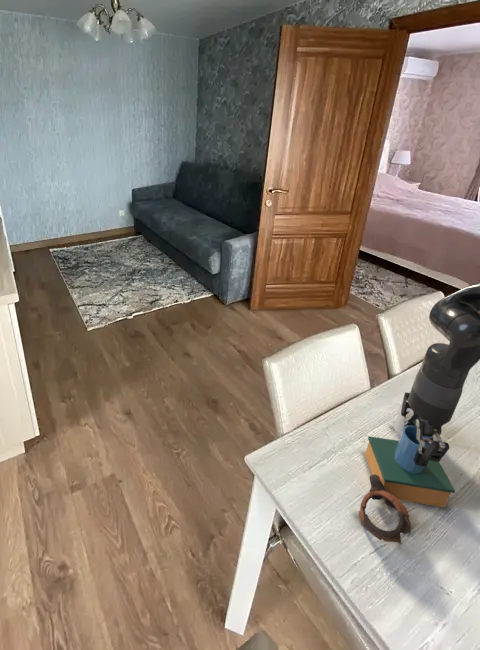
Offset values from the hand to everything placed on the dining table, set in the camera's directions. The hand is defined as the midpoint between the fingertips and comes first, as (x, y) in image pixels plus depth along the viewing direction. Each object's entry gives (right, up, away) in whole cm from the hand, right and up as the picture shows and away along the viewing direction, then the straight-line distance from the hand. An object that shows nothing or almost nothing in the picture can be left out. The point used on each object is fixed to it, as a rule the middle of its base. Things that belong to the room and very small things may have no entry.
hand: (412, 450), depth 76 cm
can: (+9, -5, +14) cm, 18 cm away
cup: (0, -3, +1) cm, 3 cm away
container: (0, -9, +4) cm, 9 cm away
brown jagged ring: (-9, -12, -4) cm, 16 cm away
